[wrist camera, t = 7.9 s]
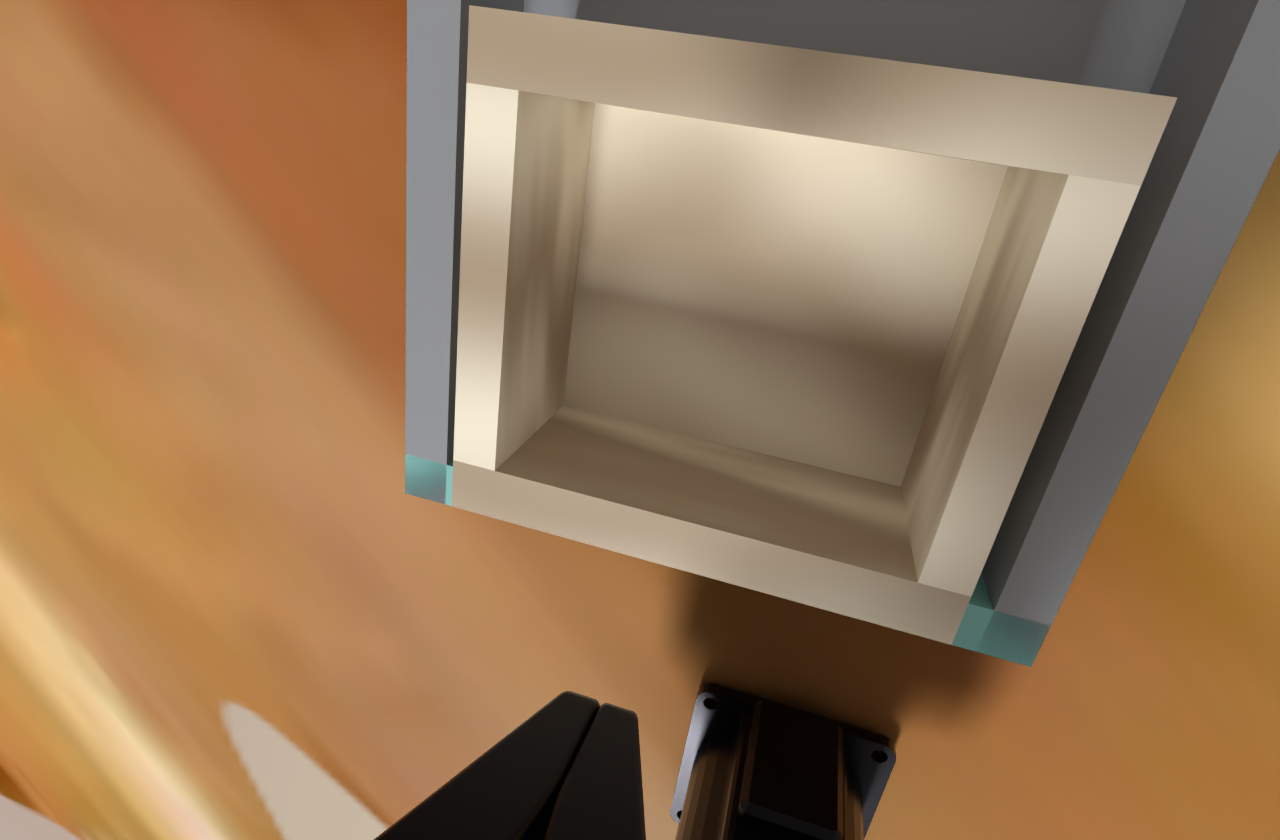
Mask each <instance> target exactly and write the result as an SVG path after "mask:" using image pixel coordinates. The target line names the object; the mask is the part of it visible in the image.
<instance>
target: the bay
mask: <svg viewBox="0 0 1280 840" xmlns="http://www.w3.org/2000/svg"><path fill="white" fill-rule="evenodd" d="M469 5H472V6H479V7H487V8H495V9H502V10H510V11H518V12H525V13H533V14H541V15H548V16H556V17H564V18H571V19H579V20H587V21H594V22H602V23H610V24H617V25H625V26H633V27H640V28H648V29H656V30H663V31H671V32H679V33H686V34H694V35H702V36H709V37H717V38H725V39H733V40H740V41H748V42H756V43H763V44H771V45H779V46H786V47H794V48H802V49H809V50H817V51H825V52H832V53H840V54H848V55H855V56H863V57H871V58H878V59H886V60H894V61H901V62H909V63H917V64H924V65H932V66H940V67H947V68H955V69H963V70H970V71H978V72H986V73H993V74H1001V75H1009V76H1016V77H1024V78H1032V79H1039V80H1047V81H1055V82H1062V83H1070V84H1078V85H1085V86H1093V87H1101V88H1108V89H1116V90H1124V91H1131V92H1139V93H1147V94H1154V95H1162V96H1170V97H1177V100H1176V102H1175V105H1174V107H1173V110H1172V112H1171V115H1170V117H1169V119H1168V122H1167V124H1166V127H1165V129H1164V131H1163V134H1162V136H1161V139H1160V141H1159V144H1158V146H1157V148H1156V151H1155V153H1154V156H1153V158H1152V161H1151V163H1150V165H1149V168H1148V170H1147V173H1146V175H1145V177H1144V180H1143V182H1142V185H1141V187H1140V190H1139V192H1138V194H1137V197H1136V199H1135V202H1134V204H1133V207H1132V209H1131V211H1130V214H1129V216H1128V219H1127V221H1126V223H1125V226H1124V228H1123V231H1122V233H1121V236H1120V238H1119V240H1118V243H1117V245H1116V248H1115V250H1114V253H1113V255H1112V257H1111V260H1110V262H1109V265H1108V267H1107V269H1106V272H1105V274H1104V277H1103V279H1102V282H1101V284H1100V286H1099V289H1098V291H1097V294H1096V296H1095V299H1094V301H1093V303H1092V306H1091V308H1090V311H1089V313H1088V315H1087V318H1086V320H1085V323H1084V325H1083V328H1082V330H1081V332H1080V335H1079V337H1078V340H1077V342H1076V345H1075V347H1074V349H1073V352H1072V354H1071V357H1070V359H1069V362H1068V364H1067V366H1066V369H1065V371H1064V374H1063V376H1062V378H1061V381H1060V383H1059V386H1058V388H1057V391H1056V393H1055V395H1054V398H1053V400H1052V403H1051V405H1050V408H1049V410H1048V412H1047V415H1046V417H1045V420H1044V422H1043V424H1042V427H1041V429H1040V432H1039V434H1038V437H1037V439H1036V441H1035V444H1034V446H1033V449H1032V451H1031V454H1030V456H1029V458H1028V461H1027V463H1026V466H1025V468H1024V470H1023V473H1022V475H1021V478H1020V480H1019V483H1018V485H1017V487H1016V490H1015V492H1014V495H1013V497H1012V500H1011V502H1010V504H1009V507H1008V509H1007V512H1006V514H1005V516H1004V519H1003V521H1002V524H1001V526H1000V529H999V531H998V533H997V536H996V538H995V541H994V543H993V546H992V548H991V550H990V553H989V555H988V558H987V560H986V562H985V565H984V567H983V570H982V572H981V575H980V577H979V579H978V582H977V584H976V587H975V589H974V592H973V594H972V596H971V599H970V601H969V604H968V606H967V609H966V611H965V613H964V616H963V618H962V621H961V623H960V625H959V628H958V630H957V633H956V635H955V638H954V640H953V642H952V645H954V646H958V647H961V648H965V649H968V650H972V651H976V652H979V653H983V654H986V655H990V656H994V657H997V658H1001V659H1004V660H1008V661H1012V662H1015V663H1019V664H1022V665H1026V666H1030V667H1031V666H1032V664H1033V662H1034V660H1035V658H1036V656H1037V653H1038V651H1039V649H1040V647H1041V645H1042V643H1043V641H1044V639H1045V637H1046V635H1047V633H1048V631H1049V629H1050V626H1051V624H1052V622H1053V620H1054V618H1055V616H1056V614H1057V612H1058V610H1059V608H1060V606H1061V604H1062V601H1063V599H1064V597H1065V595H1066V593H1067V591H1068V589H1069V587H1070V585H1071V583H1072V581H1073V579H1074V576H1075V574H1076V572H1077V570H1078V568H1079V566H1080V564H1081V562H1082V560H1083V558H1084V556H1085V554H1086V551H1087V549H1088V547H1089V545H1090V543H1091V541H1092V539H1093V537H1094V535H1095V533H1096V531H1097V529H1098V527H1099V524H1100V522H1101V520H1102V518H1103V516H1104V514H1105V512H1106V510H1107V508H1108V506H1109V504H1110V502H1111V499H1112V497H1113V495H1114V493H1115V491H1116V489H1117V487H1118V485H1119V483H1120V481H1121V479H1122V477H1123V474H1124V472H1125V470H1126V468H1127V466H1128V464H1129V462H1130V460H1131V458H1132V456H1133V454H1134V452H1135V450H1136V447H1137V445H1138V443H1139V441H1140V439H1141V437H1142V435H1143V433H1144V431H1145V429H1146V427H1147V425H1148V422H1149V420H1150V418H1151V416H1152V414H1153V412H1154V410H1155V408H1156V406H1157V404H1158V402H1159V400H1160V397H1161V395H1162V393H1163V391H1164V389H1165V387H1166V385H1167V383H1168V381H1169V379H1170V377H1171V375H1172V373H1173V370H1174V368H1175V366H1176V364H1177V362H1178V360H1179V358H1180V356H1181V354H1182V352H1183V350H1184V348H1185V345H1186V343H1187V341H1188V339H1189V337H1190V335H1191V333H1192V331H1193V329H1194V327H1195V325H1196V323H1197V320H1198V318H1199V316H1200V314H1201V312H1202V310H1203V308H1204V306H1205V304H1206V302H1207V300H1208V298H1209V295H1210V293H1211V291H1212V289H1213V287H1214V285H1215V283H1216V281H1217V279H1218V277H1219V275H1220V273H1221V271H1222V268H1223V266H1224V264H1225V262H1226V260H1227V258H1228V256H1229V254H1230V252H1231V250H1232V248H1233V246H1234V243H1235V241H1236V239H1237V237H1238V235H1239V233H1240V231H1241V229H1242V227H1243V225H1244V223H1245V221H1246V218H1247V216H1248V214H1249V212H1250V210H1251V208H1252V206H1253V204H1254V202H1255V200H1256V198H1257V196H1258V194H1259V191H1260V189H1261V187H1262V185H1263V183H1264V181H1265V179H1266V177H1267V175H1268V173H1269V171H1270V169H1271V166H1272V164H1273V162H1274V160H1275V158H1276V156H1277V154H1278V152H1279V150H1280V0H407V168H406V447H405V493H406V494H410V495H414V496H417V497H421V498H424V499H428V500H432V501H435V502H439V503H442V504H446V505H450V506H452V482H453V454H454V425H455V397H456V368H457V340H458V311H459V283H460V254H461V226H462V197H463V169H464V140H465V111H466V83H467V54H468V26H469Z"/></svg>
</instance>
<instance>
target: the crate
mask: <svg viewBox="0 0 1280 840" xmlns="http://www.w3.org/2000/svg"><path fill="white" fill-rule="evenodd" d="M1176 100H1177V97H1170V96H1162V95H1154V94H1147V93H1139V92H1131V91H1124V90H1116V89H1108V88H1101V87H1093V86H1085V85H1078V84H1070V83H1062V82H1055V81H1047V80H1039V79H1032V78H1024V77H1016V76H1009V75H1001V74H993V73H986V72H978V71H970V70H963V69H955V68H947V67H940V66H932V65H924V64H917V63H909V62H901V61H894V60H886V59H878V58H871V57H863V56H855V55H848V54H840V53H832V52H825V51H817V50H809V49H802V48H794V47H786V46H779V45H771V44H763V43H756V42H748V41H740V40H733V39H725V38H717V37H709V36H702V35H694V34H686V33H679V32H671V31H663V30H656V29H648V28H640V27H633V26H625V25H617V24H610V23H602V22H594V21H587V20H579V19H571V18H564V17H556V16H548V15H541V14H533V13H525V12H518V11H510V10H502V9H495V8H487V7H479V6H472V5H469V26H468V54H467V83H466V111H465V140H464V169H463V197H462V226H461V254H460V283H459V311H458V340H457V368H456V397H455V425H454V454H453V482H452V507H456V508H460V509H463V510H467V511H470V512H474V513H478V514H481V515H485V516H488V517H492V518H496V519H499V520H503V521H506V522H510V523H514V524H517V525H521V526H524V527H528V528H532V529H535V530H539V531H542V532H546V533H550V534H553V535H557V536H560V537H564V538H568V539H571V540H575V541H578V542H582V543H586V544H589V545H593V546H596V547H600V548H604V549H607V550H611V551H614V552H618V553H622V554H625V555H629V556H632V557H636V558H640V559H643V560H647V561H650V562H654V563H658V564H661V565H665V566H668V567H672V568H676V569H679V570H683V571H686V572H690V573H694V574H697V575H701V576H704V577H708V578H712V579H715V580H719V581H722V582H726V583H730V584H733V585H737V586H740V587H744V588H748V589H751V590H755V591H759V592H762V593H766V594H769V595H773V596H777V597H780V598H784V599H787V600H791V601H795V602H798V603H802V604H805V605H809V606H813V607H816V608H820V609H823V610H827V611H831V612H834V613H838V614H841V615H845V616H849V617H852V618H856V619H859V620H863V621H867V622H870V623H874V624H877V625H881V626H885V627H888V628H892V629H895V630H899V631H903V632H906V633H910V634H913V635H917V636H921V637H924V638H928V639H931V640H935V641H939V642H942V643H946V644H949V645H952V642H953V640H954V638H955V635H956V633H957V630H958V628H959V625H960V623H961V621H962V618H963V616H964V613H965V611H966V609H967V606H968V604H969V601H970V599H971V596H972V594H973V592H974V589H975V587H976V584H977V582H978V579H979V577H980V575H981V572H982V570H983V567H984V565H985V562H986V560H987V558H988V555H989V553H990V550H991V548H992V546H993V543H994V541H995V538H996V536H997V533H998V531H999V529H1000V526H1001V524H1002V521H1003V519H1004V516H1005V514H1006V512H1007V509H1008V507H1009V504H1010V502H1011V500H1012V497H1013V495H1014V492H1015V490H1016V487H1017V485H1018V483H1019V480H1020V478H1021V475H1022V473H1023V470H1024V468H1025V466H1026V463H1027V461H1028V458H1029V456H1030V454H1031V451H1032V449H1033V446H1034V444H1035V441H1036V439H1037V437H1038V434H1039V432H1040V429H1041V427H1042V424H1043V422H1044V420H1045V417H1046V415H1047V412H1048V410H1049V408H1050V405H1051V403H1052V400H1053V398H1054V395H1055V393H1056V391H1057V388H1058V386H1059V383H1060V381H1061V378H1062V376H1063V374H1064V371H1065V369H1066V366H1067V364H1068V362H1069V359H1070V357H1071V354H1072V352H1073V349H1074V347H1075V345H1076V342H1077V340H1078V337H1079V335H1080V332H1081V330H1082V328H1083V325H1084V323H1085V320H1086V318H1087V315H1088V313H1089V311H1090V308H1091V306H1092V303H1093V301H1094V299H1095V296H1096V294H1097V291H1098V289H1099V286H1100V284H1101V282H1102V279H1103V277H1104V274H1105V272H1106V269H1107V267H1108V265H1109V262H1110V260H1111V257H1112V255H1113V253H1114V250H1115V248H1116V245H1117V243H1118V240H1119V238H1120V236H1121V233H1122V231H1123V228H1124V226H1125V223H1126V221H1127V219H1128V216H1129V214H1130V211H1131V209H1132V207H1133V204H1134V202H1135V199H1136V197H1137V194H1138V192H1139V190H1140V187H1141V185H1142V182H1143V180H1144V177H1145V175H1146V173H1147V170H1148V168H1149V165H1150V163H1151V161H1152V158H1153V156H1154V153H1155V151H1156V148H1157V146H1158V144H1159V141H1160V139H1161V136H1162V134H1163V131H1164V129H1165V127H1166V124H1167V122H1168V119H1169V117H1170V115H1171V112H1172V110H1173V107H1174V105H1175V102H1176Z"/></svg>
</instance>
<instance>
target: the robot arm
mask: <svg viewBox="0 0 1280 840" xmlns="http://www.w3.org/2000/svg"><path fill="white" fill-rule="evenodd" d="M707 698H713V699H715V700H716V701H710V700H708V699H707ZM876 750H880V751H883V752H882V753H877V752H875V751H876ZM895 762H896V751H895V746H894V743H893V742H892V741H891V740H890V739H889V738H887V737H885V736H883V735H880V734H877V733H873V732H870V731H867V730H863V729H860V728H857V727H854V726H850V725H847V724H844V723H841V722H837V721H834V720H831V719H828V718H824V717H821V716H818V715H814V714H811V713H808V712H805V711H801V710H798V709H795V708H792V707H788V706H785V705H782V704H779V703H775V702H772V701H769V700H765V699H762V698H759V697H756V696H752V695H749V694H746V693H743V692H739V691H736V690H733V689H729V688H726V687H723V686H720V685H716V684H711V683H709V684H704V685H703V686H701V687H700V689H699V691H698V694H697V698H696V702H695V707H694V711H693V715H692V720H691V724H690V728H689V733H688V737H687V741H686V746H685V750H684V754H683V759H682V763H681V767H680V772H679V776H678V780H677V784H676V789H675V793H674V797H673V802H672V806H671V810H670V815H671V817H672V819H673V820H674V821H675V822H677V823H679V826H678V830H677V835H676V839H675V840H864V838H865V835H866V833H867V830H868V828H869V826H870V823H871V821H872V818H873V816H874V813H875V811H876V808H877V806H878V803H879V801H880V798H881V796H882V794H883V791H884V789H885V786H886V784H887V781H888V779H889V776H890V774H891V771H892V769H893V767H894V764H895ZM374 840H646V834H645V819H644V804H643V789H642V774H641V759H640V744H639V729H638V718H637V715H636V714H635V712H633V711H630V710H627V709H624V708H621V707H618V706H615V705H612V704H609V703H604V704H602V705H601V706H600V705H599V703H598V701H597V700H595V699H593V698H590V697H587V696H584V695H581V694H577V693H574V692H571V691H566V692H563V693H561V694H560V695H558V696H557V697H556V698H555V699H553V700H552V701H551V702H549V703H548V704H547V705H546V706H544V707H543V708H542V709H540V710H539V711H538V712H537V713H535V714H534V715H533V716H532V717H530V718H529V719H528V720H526V721H525V722H524V723H523V724H521V725H520V726H519V727H517V728H516V729H515V730H514V731H512V732H511V733H510V734H508V735H507V736H506V737H505V738H503V739H502V740H501V741H500V742H498V743H497V744H496V745H494V746H493V747H492V748H491V749H489V750H488V751H487V752H485V753H484V754H483V755H482V756H480V757H479V758H478V759H476V760H475V761H474V762H473V763H471V764H470V765H469V766H468V767H466V768H465V769H464V770H462V771H461V772H460V773H459V774H457V775H456V776H455V777H453V778H452V779H451V780H450V781H448V782H447V783H446V784H444V785H443V786H442V787H441V788H439V789H438V790H437V791H436V792H434V793H433V794H432V795H430V796H429V797H428V798H427V799H425V800H424V801H423V802H421V803H420V804H419V805H418V806H416V807H415V808H414V809H412V810H411V811H410V812H409V813H407V814H406V815H405V816H403V817H402V818H401V819H400V820H398V821H397V822H396V823H395V824H393V825H392V826H391V827H389V828H388V829H387V830H386V831H384V832H383V833H382V834H381V835H379V836H378V837H377V838H375V839H374Z"/></svg>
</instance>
